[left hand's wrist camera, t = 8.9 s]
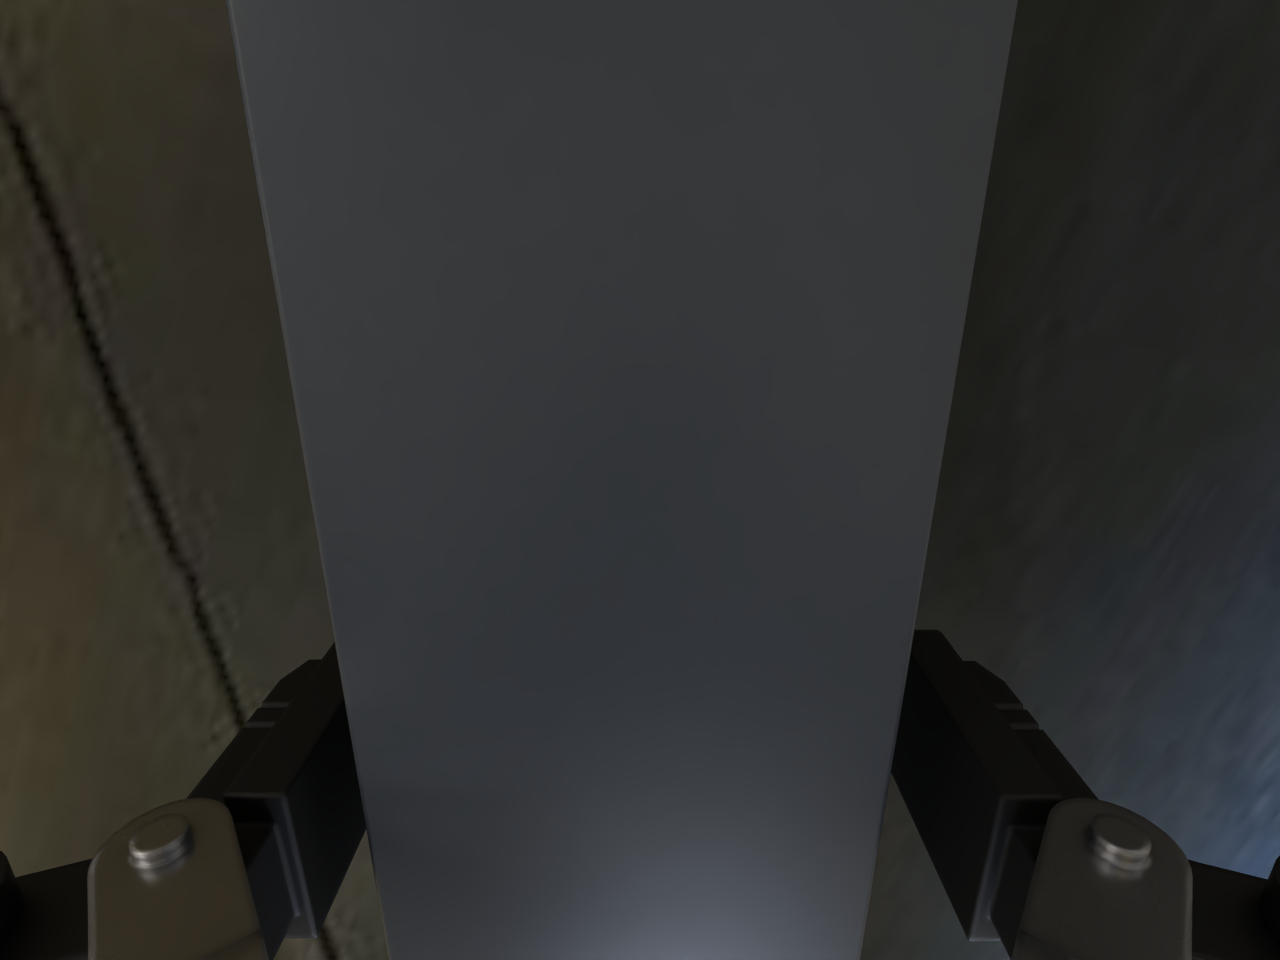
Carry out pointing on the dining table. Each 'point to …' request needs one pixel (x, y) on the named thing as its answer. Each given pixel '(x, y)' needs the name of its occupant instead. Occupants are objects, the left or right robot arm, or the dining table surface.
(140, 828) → the left robot arm
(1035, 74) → the dining table surface
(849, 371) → the box
